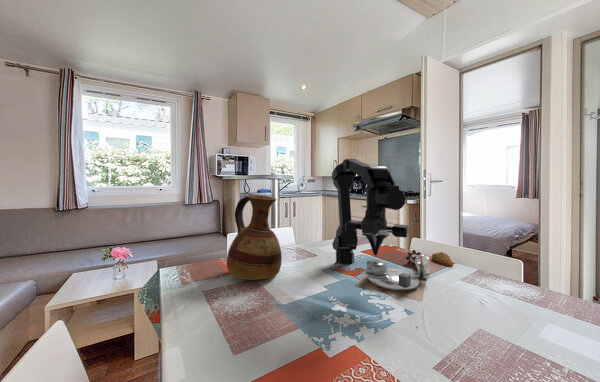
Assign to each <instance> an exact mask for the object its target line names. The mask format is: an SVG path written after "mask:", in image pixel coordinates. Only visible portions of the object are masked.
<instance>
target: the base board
mask: <svg viewBox="0 0 600 382" xmlns="http://www.w3.org/2000/svg"><path fill="white" fill-rule="evenodd" d="M414 275H415V274H414ZM415 276H417V274H416V275H415ZM426 284H427V280H421V279H419V286H418V288H416V289H414V290H411V291H391V290H386V289H382V288H379V287H377V286H375V285H373V284H371V283H370V282H369V280H368V276H367V275H366V273H365V274H364V275H363V276H362V277H361V279H360V280H359V281H358V282H357V283H356V284H355V286H354V287H357V288H362V289H365V290H369V291H375V292H380V293H383V294H388V295H392V296H398V297H401V298H406V299H410V300H415V301H418V302H419V301H420V302H422V301H423V298H424V294H425V288H426Z"/></svg>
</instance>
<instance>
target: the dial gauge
mask: <svg viewBox="0 0 600 382" xmlns="http://www.w3.org/2000/svg"><path fill="white" fill-rule="evenodd" d="M415 257H416V258H415V262H416V264H417V265H418V266H420V274H419V273H418V272H417V274H416V275H417V276H416V277H417V278H418V279H421V280H426V281H427V280H428V274H426V275H424V267H426V266H427V265H428V262H429V263H430V260H429V261H428V258H429V257H428V256H426V255H424V254H421V255H418V256H417V255H416V256H415ZM427 257H428V258H427ZM416 264H415V265H416Z"/></svg>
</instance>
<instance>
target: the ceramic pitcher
mask: <svg viewBox="0 0 600 382" xmlns="http://www.w3.org/2000/svg"><path fill="white" fill-rule="evenodd" d="M276 201H277V198H275V197H272V196H268V195H262V194H253V193H252V194H248V195H245V196H244V197H242V198H240V200H239V201H238V202H237V204H236V207H235V211H234V221H235V225H236V229H237V234H236V235H235V237H234V239H233V240H232V242H231V244H230V247H229V249H228V251H227V256H226V267H227V269H226V270H228V272H229V273H230V275H231V276H233V277H234V278H237V279H240V280H262V279H263V280H264V279H269V278H273V277H276V276H277V275H278V274H279V272H280V270H281V266H282V261H283V259H282V255H283V254H282V250H281V245H280V242H279V239H278V237H277V234H276V233H275V232H274V231H273V230H272V229H271V228H270V225H269V214H270V208H271V206H272V205H273V204H274V203H275V202H276ZM249 202H250V205H251V207H252V210H251V213H252V214H251V219H250V222H249V224H248V225H247V226H245V223H244V217H243V214H244V213H243V212H244V209H245V207H246V205H247V204H248V203H249Z"/></svg>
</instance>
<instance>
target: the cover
mask: <svg viewBox="0 0 600 382" xmlns="http://www.w3.org/2000/svg"><path fill="white" fill-rule="evenodd" d="M387 265H388V264H387V262H386V261H384V260H381V259H369V260H367V261H366V271H365V274H366V275H367V276H369V277H372V278H377V279H382V278H386V277H387V276H388V273H387V268H388V266H387Z"/></svg>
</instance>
